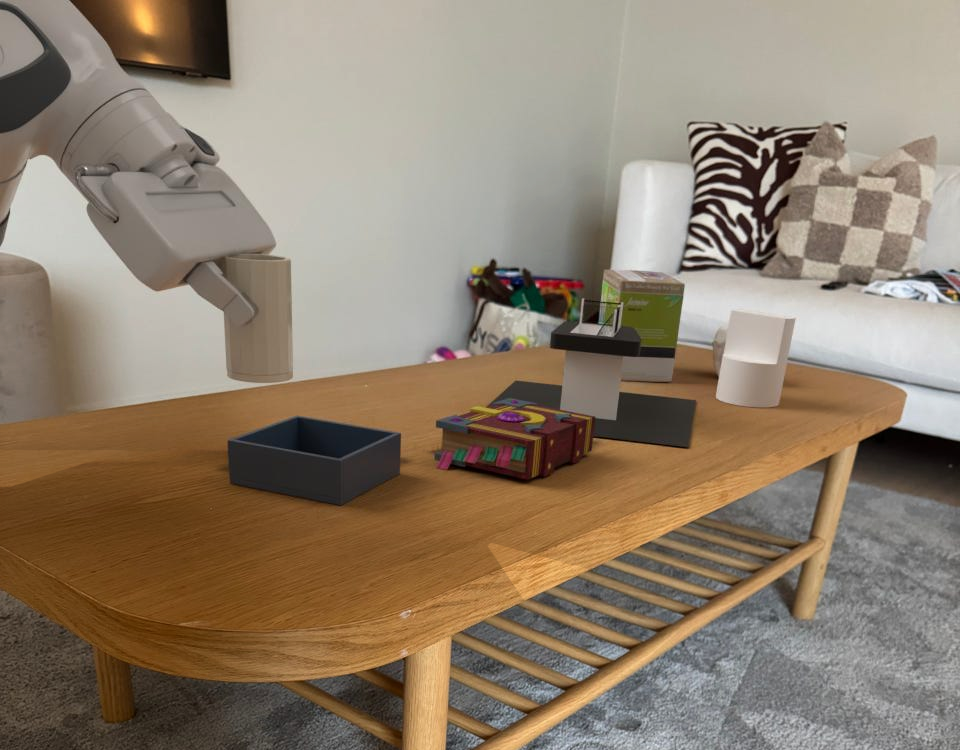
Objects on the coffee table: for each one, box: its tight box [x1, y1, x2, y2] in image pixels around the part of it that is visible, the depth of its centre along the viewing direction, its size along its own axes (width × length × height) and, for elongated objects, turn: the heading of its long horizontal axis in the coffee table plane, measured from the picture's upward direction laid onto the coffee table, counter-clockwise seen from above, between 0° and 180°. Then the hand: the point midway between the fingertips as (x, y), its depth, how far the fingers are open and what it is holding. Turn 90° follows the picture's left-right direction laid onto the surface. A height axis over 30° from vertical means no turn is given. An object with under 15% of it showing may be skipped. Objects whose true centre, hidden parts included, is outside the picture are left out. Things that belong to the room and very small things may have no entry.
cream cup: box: [221, 254, 294, 384], centre depth 75 cm, size 5×5×9 cm
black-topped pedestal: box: [486, 298, 697, 448], centre depth 123 cm, size 28×26×13 cm
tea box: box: [598, 269, 686, 383], centre depth 150 cm, size 15×10×15 cm, turn 3°
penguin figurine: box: [711, 320, 729, 377], centre depth 152 cm, size 6×8×12 cm
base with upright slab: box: [715, 308, 797, 409], centre depth 136 cm, size 9×9×12 cm
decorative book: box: [434, 398, 595, 481], centre depth 101 cm, size 11×16×5 cm
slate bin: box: [227, 415, 402, 506], centre depth 91 cm, size 12×12×4 cm
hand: (265, 314), depth 75 cm, fingers closed on cream cup, 5 cm apart
